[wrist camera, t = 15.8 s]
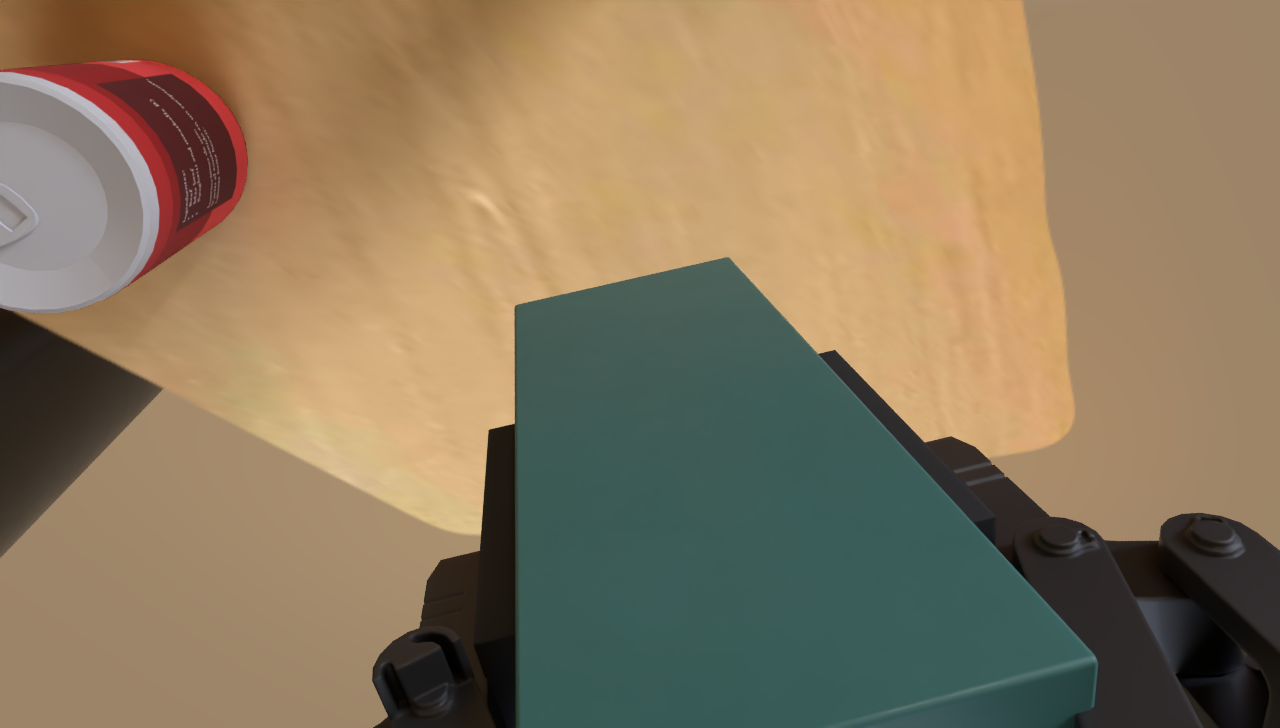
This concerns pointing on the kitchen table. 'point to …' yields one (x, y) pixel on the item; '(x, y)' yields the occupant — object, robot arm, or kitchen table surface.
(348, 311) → the kitchen table surface
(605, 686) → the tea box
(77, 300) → the canned food
